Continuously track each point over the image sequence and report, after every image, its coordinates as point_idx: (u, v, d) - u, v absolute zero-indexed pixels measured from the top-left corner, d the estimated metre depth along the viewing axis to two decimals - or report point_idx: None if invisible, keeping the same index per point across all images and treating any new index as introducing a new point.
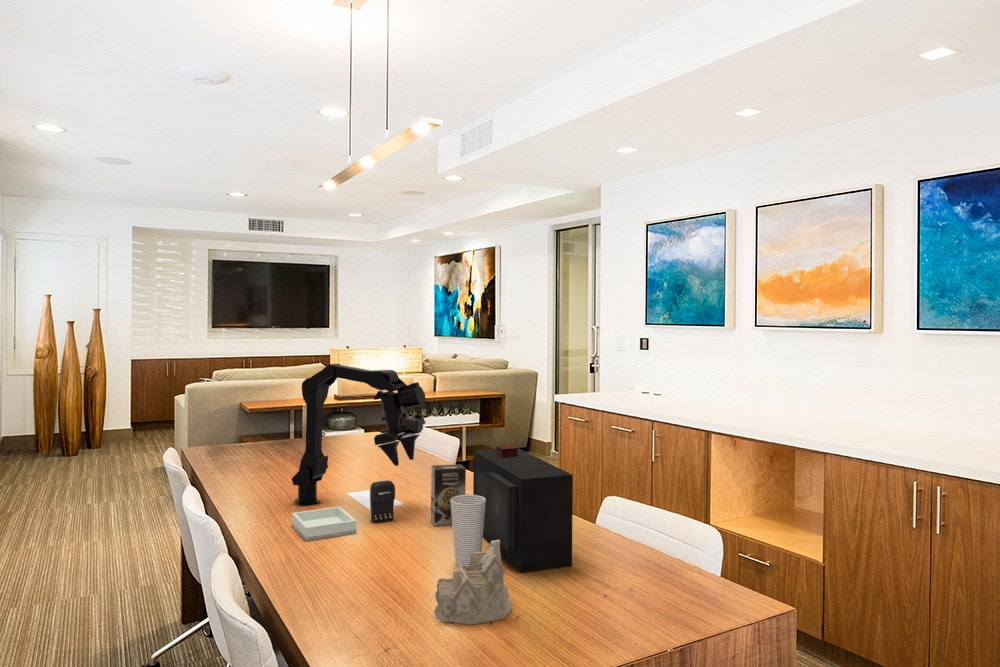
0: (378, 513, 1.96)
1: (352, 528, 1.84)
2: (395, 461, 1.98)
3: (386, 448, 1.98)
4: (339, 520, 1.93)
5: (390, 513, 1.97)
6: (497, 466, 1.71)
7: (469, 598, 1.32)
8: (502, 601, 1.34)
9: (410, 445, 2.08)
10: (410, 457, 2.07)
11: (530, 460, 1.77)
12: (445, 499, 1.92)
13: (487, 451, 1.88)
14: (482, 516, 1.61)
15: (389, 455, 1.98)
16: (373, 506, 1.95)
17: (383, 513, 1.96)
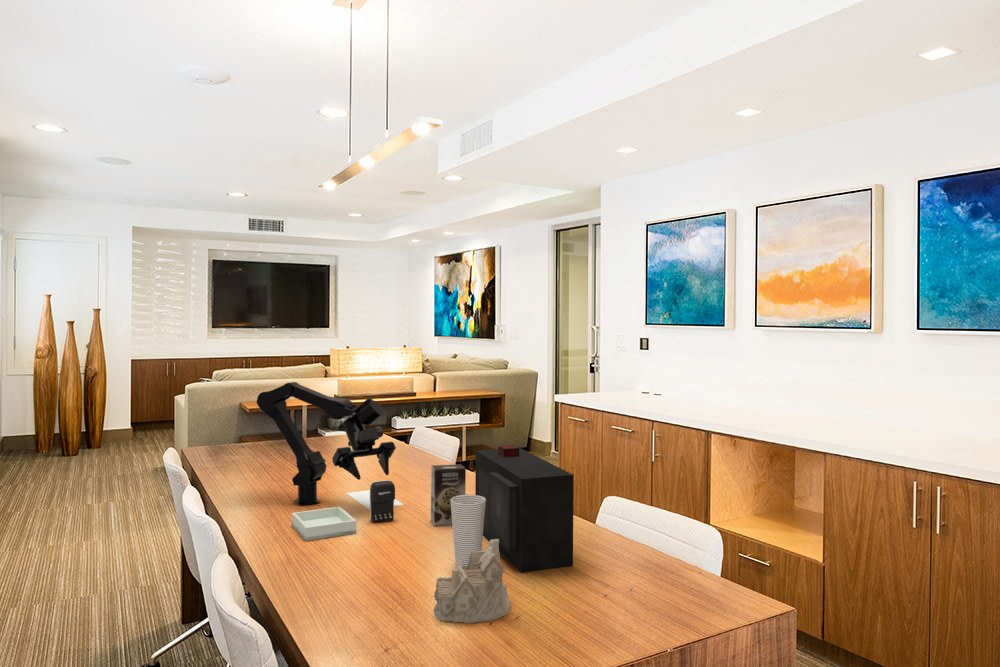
0: (378, 513, 1.96)
1: (352, 528, 1.84)
2: (356, 475, 1.98)
3: (347, 466, 2.00)
4: (339, 520, 1.93)
5: (390, 513, 1.97)
6: (498, 466, 1.72)
7: (468, 597, 1.33)
8: (501, 600, 1.35)
9: (383, 462, 2.06)
10: (386, 472, 2.04)
11: (532, 460, 1.77)
12: (445, 499, 1.92)
13: (489, 451, 1.89)
14: (482, 516, 1.61)
15: (351, 471, 1.99)
16: (373, 506, 1.95)
17: (383, 513, 1.96)
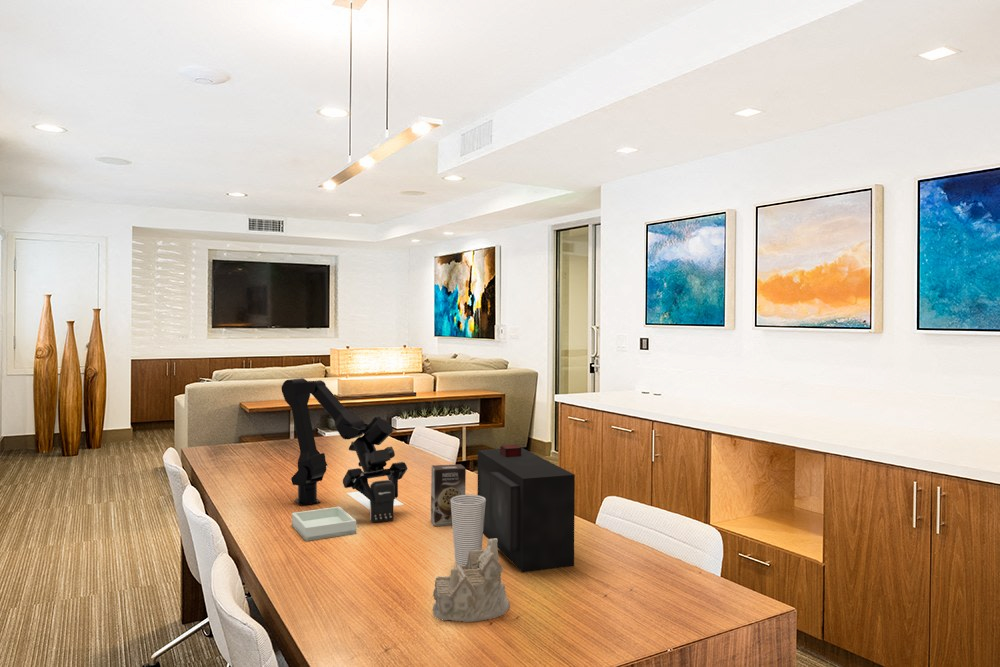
0: (378, 513, 1.96)
1: (352, 528, 1.84)
2: (370, 497, 1.93)
3: (360, 487, 1.95)
4: (339, 520, 1.93)
5: (390, 513, 1.97)
6: (500, 465, 1.72)
7: (466, 596, 1.33)
8: (499, 599, 1.35)
9: None
10: (395, 495, 1.98)
11: (533, 460, 1.77)
12: (445, 499, 1.92)
13: (491, 451, 1.89)
14: (482, 516, 1.61)
15: (364, 493, 1.94)
16: (373, 506, 1.95)
17: (383, 513, 1.96)
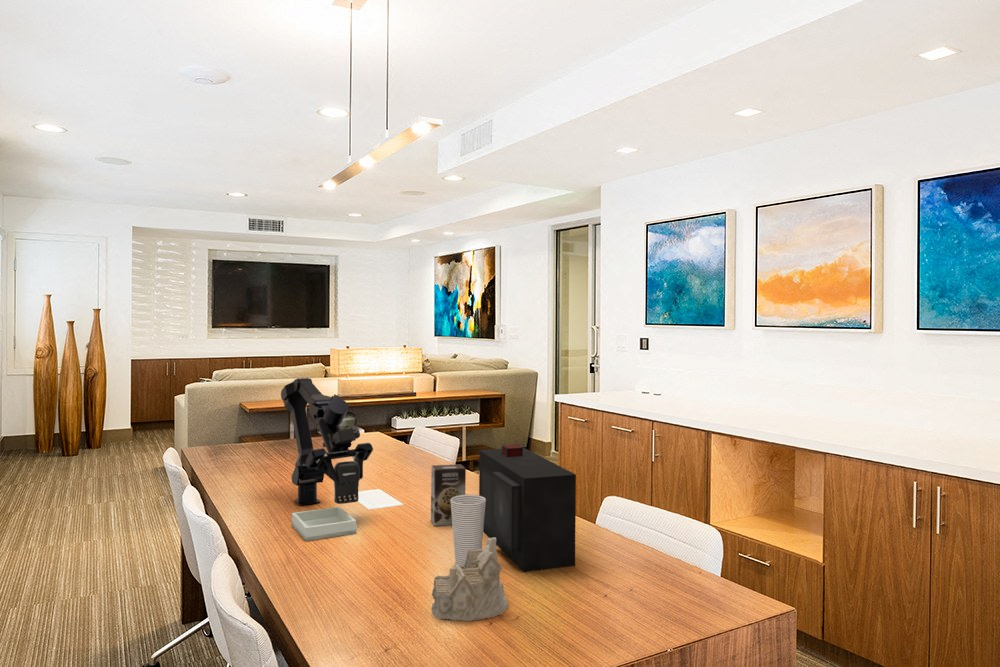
0: (342, 494, 1.91)
1: (352, 528, 1.84)
2: (334, 478, 1.88)
3: (324, 468, 1.90)
4: (339, 520, 1.93)
5: (355, 495, 1.92)
6: (501, 465, 1.72)
7: (465, 595, 1.33)
8: (498, 598, 1.36)
9: None
10: (360, 476, 1.93)
11: (535, 460, 1.77)
12: (445, 499, 1.92)
13: (493, 450, 1.89)
14: (482, 516, 1.61)
15: (328, 474, 1.89)
16: (337, 487, 1.90)
17: (347, 494, 1.91)
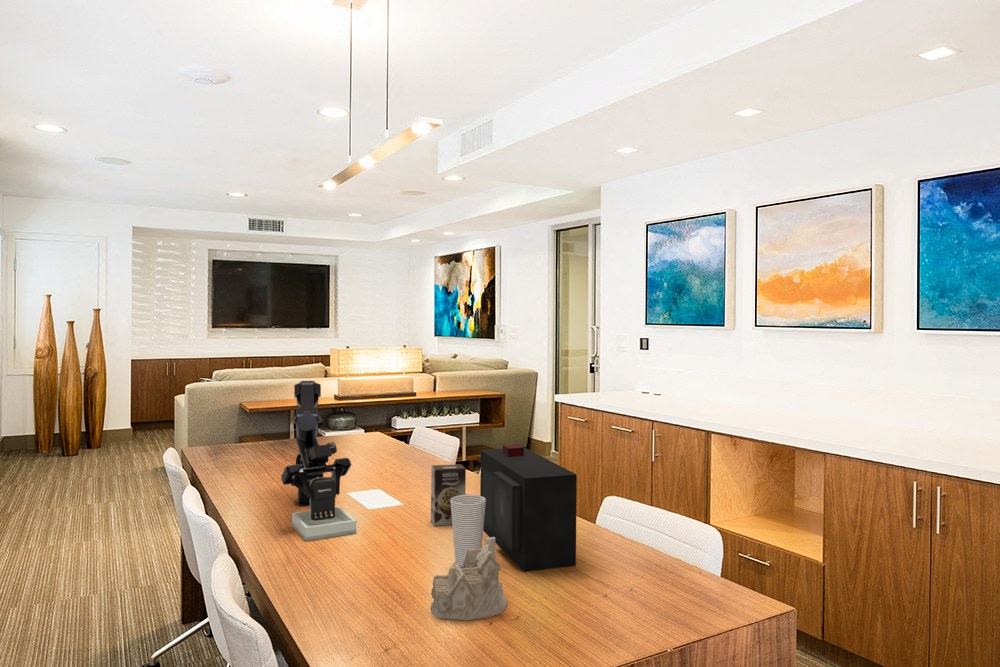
0: (318, 511, 1.88)
1: (352, 528, 1.84)
2: (309, 494, 1.85)
3: (300, 484, 1.87)
4: (339, 520, 1.93)
5: (331, 511, 1.89)
6: (502, 465, 1.72)
7: (464, 595, 1.34)
8: (497, 597, 1.36)
9: None
10: (336, 492, 1.90)
11: (536, 459, 1.78)
12: (445, 499, 1.92)
13: (494, 450, 1.89)
14: (482, 516, 1.61)
15: (303, 490, 1.86)
16: (313, 504, 1.87)
17: (324, 511, 1.88)
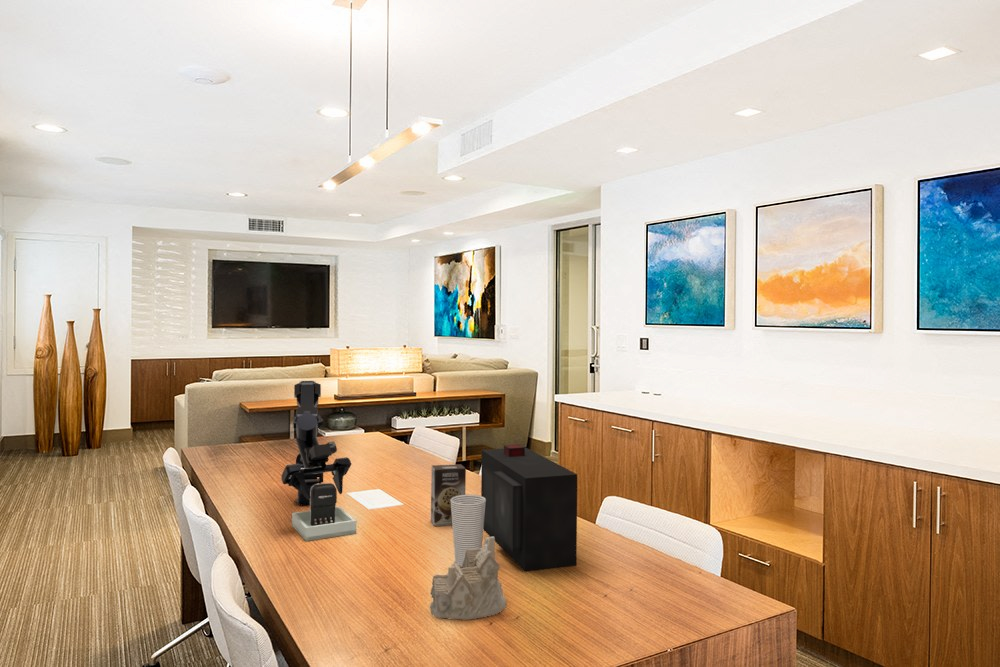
0: (318, 517, 1.88)
1: (352, 528, 1.84)
2: (306, 494, 1.84)
3: (297, 484, 1.87)
4: (339, 520, 1.93)
5: (331, 517, 1.89)
6: (503, 465, 1.72)
7: (464, 594, 1.34)
8: (496, 596, 1.36)
9: (337, 479, 1.92)
10: (339, 491, 1.90)
11: (536, 459, 1.78)
12: (445, 499, 1.92)
13: (495, 450, 1.90)
14: (482, 516, 1.61)
15: (300, 490, 1.86)
16: (313, 510, 1.87)
17: (324, 517, 1.88)
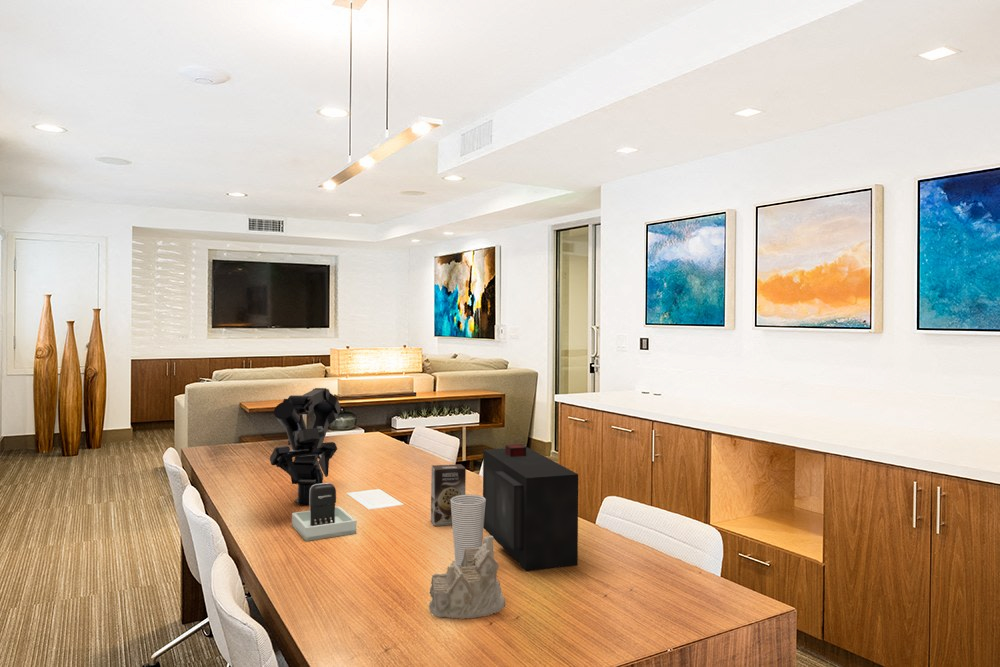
0: (318, 517, 1.88)
1: (352, 528, 1.84)
2: (294, 475, 1.92)
3: (285, 466, 1.94)
4: (339, 520, 1.93)
5: (331, 517, 1.89)
6: (504, 465, 1.73)
7: (463, 593, 1.34)
8: (495, 595, 1.37)
9: (323, 463, 2.00)
10: (325, 474, 1.98)
11: (538, 459, 1.78)
12: (445, 499, 1.92)
13: (496, 450, 1.90)
14: (482, 516, 1.61)
15: (288, 471, 1.93)
16: (313, 510, 1.87)
17: (323, 517, 1.88)
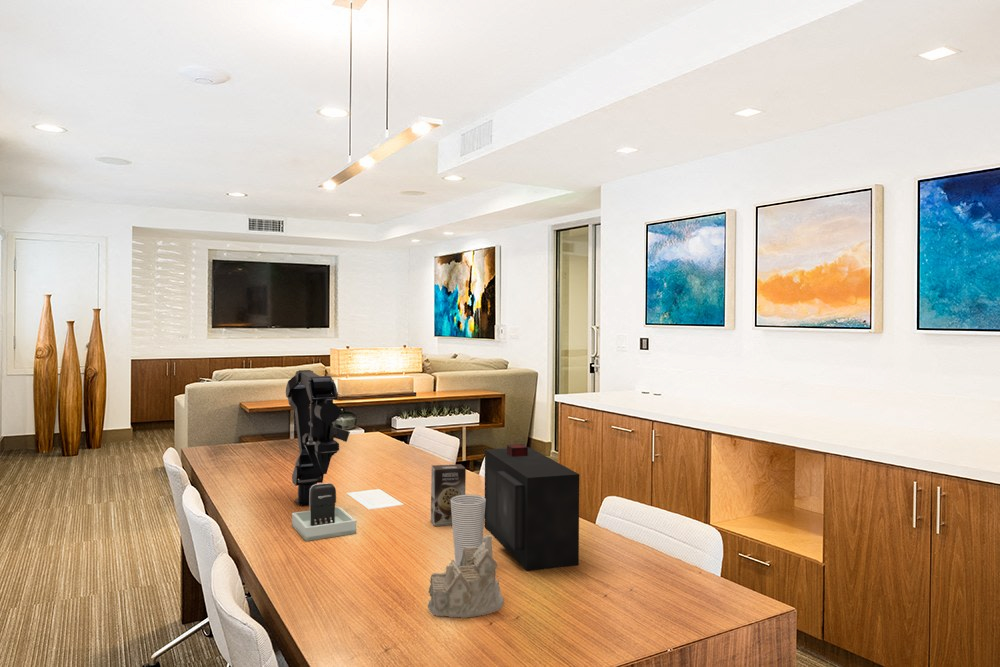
0: (318, 517, 1.88)
1: (352, 528, 1.84)
2: (325, 469, 1.98)
3: (321, 456, 1.96)
4: (339, 520, 1.93)
5: (331, 517, 1.89)
6: (506, 465, 1.73)
7: (462, 592, 1.35)
8: (494, 594, 1.37)
9: None
10: (315, 465, 2.06)
11: (539, 459, 1.78)
12: (445, 499, 1.92)
13: (498, 450, 1.90)
14: (482, 516, 1.61)
15: (322, 463, 1.96)
16: (313, 510, 1.87)
17: (323, 517, 1.88)
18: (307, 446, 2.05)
